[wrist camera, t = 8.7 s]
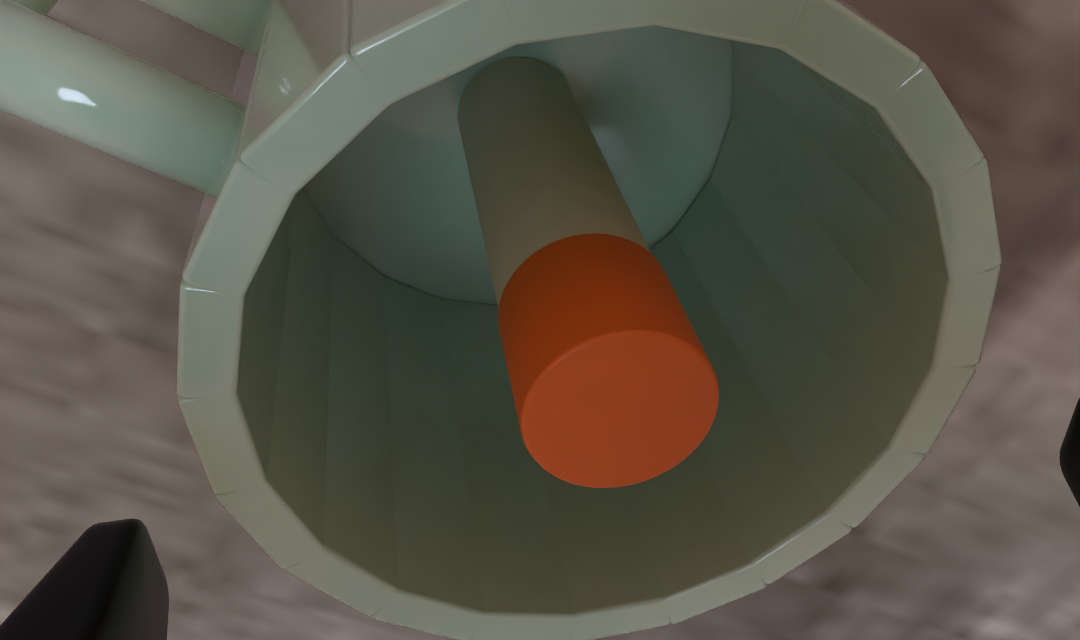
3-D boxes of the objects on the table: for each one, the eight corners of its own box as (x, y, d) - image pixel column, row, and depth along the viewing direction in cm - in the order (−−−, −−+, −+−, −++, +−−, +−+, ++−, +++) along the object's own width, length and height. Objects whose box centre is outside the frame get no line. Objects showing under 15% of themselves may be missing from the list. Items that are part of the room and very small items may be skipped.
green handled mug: (853, -2, 17) (1164, 218, 10) (585, 368, 21) (691, 699, 14) (168, -461, 12) (-43, -584, 6) (-21, 127, 16) (-280, 461, 9)
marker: (525, 26, 16) (645, 294, 9) (601, 116, 17) (757, 412, 10) (428, 109, 16) (478, 417, 10) (508, 191, 17) (602, 518, 11)
